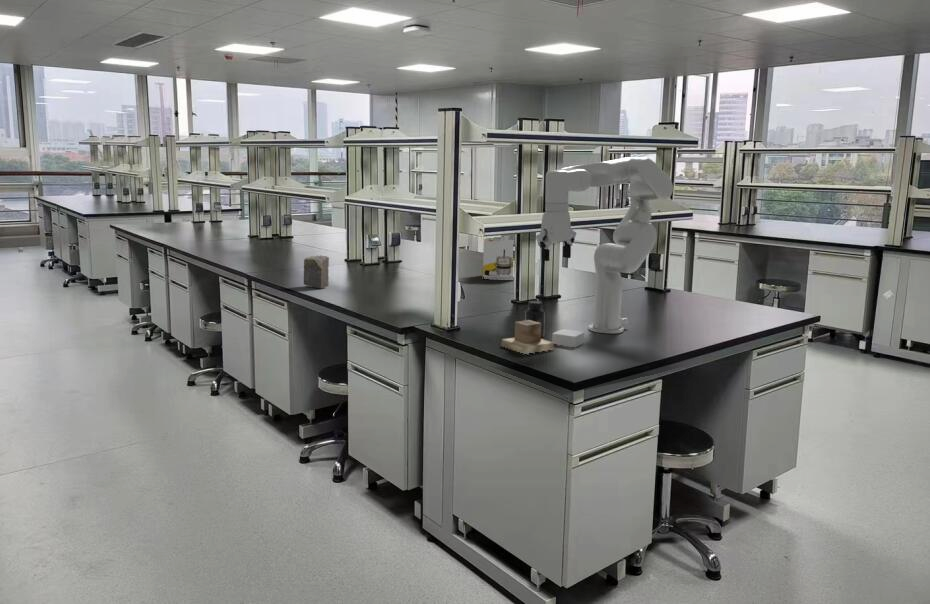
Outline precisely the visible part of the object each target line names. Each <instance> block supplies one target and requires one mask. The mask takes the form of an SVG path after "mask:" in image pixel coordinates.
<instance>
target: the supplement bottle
mask: <svg viewBox="0 0 930 604" xmlns="http://www.w3.org/2000/svg"><path fill="white" fill-rule="evenodd" d="M527 307H528V308H527V309H526V310H525V311H524V321H525V320H532V321H535V322H539V323H541V338H544V337H545V320H546V312H545V310H543V302H542V301H540V300H530V301H528V305H527Z"/></svg>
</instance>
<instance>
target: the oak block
mask: <svg viewBox="0 0 930 604" xmlns="http://www.w3.org/2000/svg"><path fill="white" fill-rule="evenodd" d="M500 344H501V347H502V348H504V347H505V349H507V348H508V349H507V350H510V349H511V350H510V351H514V352H515V351H516V352H515V353H518V352H520V353H519V354H521V353H523V354H522V355H524V354H527V355H530V354H529V353H533V354H536V353H535V352H539V353H543V352H542V351H545V352H549V351H548V350H551V351H554V350H555V345H554V342H552V341H549V340H546V339H544V338H541V341H540V342H535V343H529V344H525V343H522V342H519V341H516V340H515V336H514V337H509V338H508V337H507V338H502V339H501V343H500Z"/></svg>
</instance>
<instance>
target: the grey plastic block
mask: <svg viewBox="0 0 930 604" xmlns="http://www.w3.org/2000/svg"><path fill="white" fill-rule="evenodd" d="M551 334H552V336H551V342H554V344H557V345H556V346H560V345H564V346H563V347H566V346H569V347H568V348H572V347H575V348H577V347H579V346H581V345H583V344H584V343H585V332H584V331H578V330H571V329H565V328H564V329H563V328H562V329H559V330H557V331H555V332H553V333H551ZM580 344H581V345H580ZM578 345H579V346H578ZM576 346H577V347H576Z"/></svg>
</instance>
